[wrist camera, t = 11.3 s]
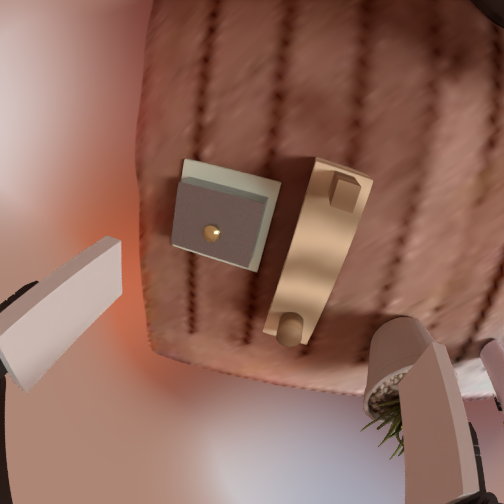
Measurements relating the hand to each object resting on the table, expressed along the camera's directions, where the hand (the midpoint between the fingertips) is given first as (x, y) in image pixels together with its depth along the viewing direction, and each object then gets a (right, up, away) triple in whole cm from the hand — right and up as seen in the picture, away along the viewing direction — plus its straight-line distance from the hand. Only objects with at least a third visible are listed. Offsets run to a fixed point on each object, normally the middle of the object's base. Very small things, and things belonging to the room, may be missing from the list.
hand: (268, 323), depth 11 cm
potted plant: (+21, -11, +28) cm, 36 cm away
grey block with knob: (-4, +7, +25) cm, 26 cm away
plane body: (+7, +3, +25) cm, 26 cm away
